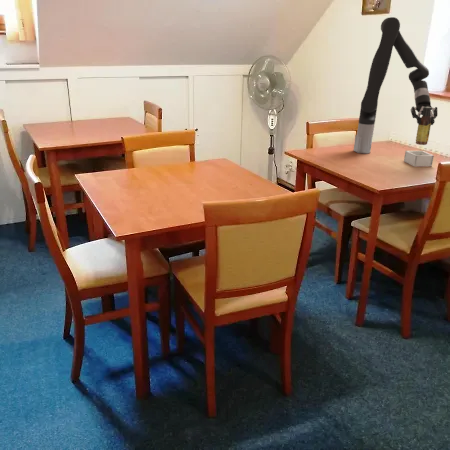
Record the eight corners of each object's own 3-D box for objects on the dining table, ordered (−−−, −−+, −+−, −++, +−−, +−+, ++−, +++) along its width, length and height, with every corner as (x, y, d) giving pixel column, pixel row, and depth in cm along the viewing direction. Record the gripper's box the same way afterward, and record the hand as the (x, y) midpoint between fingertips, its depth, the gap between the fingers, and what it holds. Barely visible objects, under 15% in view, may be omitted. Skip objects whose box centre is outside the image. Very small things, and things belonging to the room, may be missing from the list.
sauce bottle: (428, 145, 249) (435, 108, 241) (416, 145, 250) (422, 107, 243) (426, 143, 255) (432, 106, 247) (414, 142, 256) (420, 106, 248)
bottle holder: (414, 166, 251) (416, 155, 249) (403, 161, 261) (405, 150, 259) (431, 166, 252) (433, 155, 250) (420, 160, 263) (422, 150, 260)
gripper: (411, 93, 250) (415, 119, 243) (438, 94, 249) (442, 120, 243) (406, 102, 257) (410, 127, 250) (432, 103, 256) (436, 128, 250)
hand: (426, 123), depth 247 cm, fingers closed on sauce bottle, 6 cm apart
